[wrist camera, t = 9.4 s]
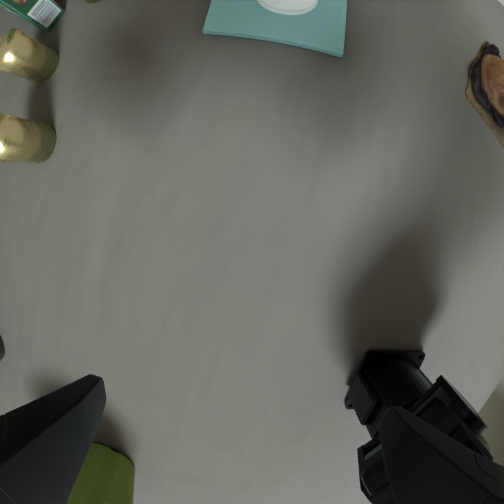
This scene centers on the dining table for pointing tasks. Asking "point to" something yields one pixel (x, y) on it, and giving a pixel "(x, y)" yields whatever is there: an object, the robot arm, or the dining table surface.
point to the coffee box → (35, 11)
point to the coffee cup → (1, 349)
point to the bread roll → (488, 89)
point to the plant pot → (104, 478)
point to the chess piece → (288, 6)
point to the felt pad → (281, 24)
